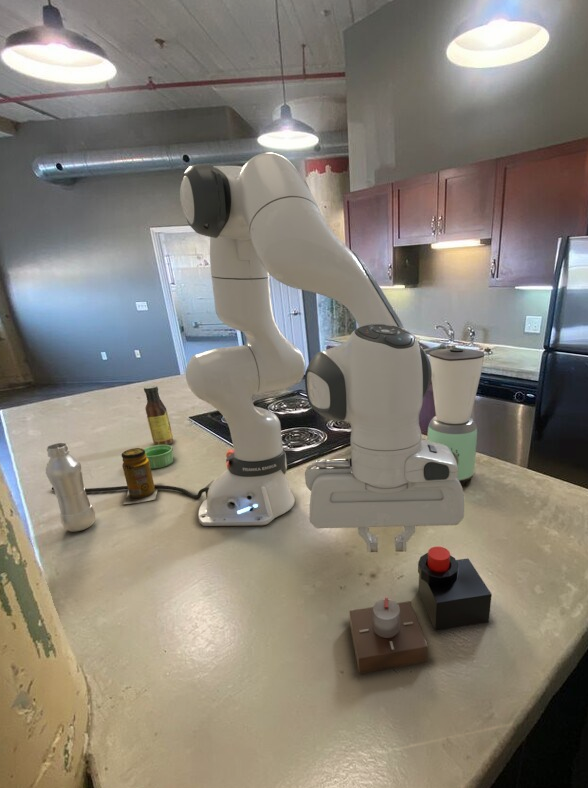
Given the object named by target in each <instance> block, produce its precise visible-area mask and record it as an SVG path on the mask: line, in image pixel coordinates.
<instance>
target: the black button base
mask: <svg viewBox="0 0 588 788" xmlns="http://www.w3.org/2000/svg"><path fill="white" fill-rule="evenodd" d="M427 564H428V552H426V553H424V554H423V555H420V557H419V560H418V563H417V573H418V593H419V596H420V598H421V601H422V604H423V606H424V607H425V610H426V612H427V614H428V617H429V620H430V623H431V624H432V626H433V629H434V631H435V632H439V631H444V630H450V629H455V628H456V629H457V628H462V627H466V626H474V625H481V624H487V623H489V622H490V615H491V614H490V613H491V606H492V605H491V604H492V592H491V591H490V589H489V588H488V587H487V584H486V583H485V582H484V580H483V579H482V577H481V576H480V574H479V573H478V571H477V570H476V568H475V567H474V565H473V563H472V562H471V560H470V558H468V557H467V558H460V559H456V558H455V557H454V556H452V555H451V554H450V564H449V569H448V570H447V571H446V572H440V573H439V572H434V571H432V570H430V569H429V568H428V565H427Z"/></svg>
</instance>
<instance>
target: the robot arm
mask: <svg viewBox="0 0 588 788" xmlns="http://www.w3.org/2000/svg"><path fill="white" fill-rule="evenodd" d="M179 189H180V190H179V200H180V201H179V202H180V205H181V209H182V212H183V214H184V216H185V219H186V221H187V224H188V225H189V227H190V228H191V229H192V230H193V231H194V232H195V233H196V234H198V235H201V236H204V237H208V238H209V263H210V264H209V265H210V266H209V267H210V277H211V285H212V286H211V287H212V294H213V301H214V311H215V314H216V316H217V318H218V319H219V321H220V322H222V323H223V324H225V325H226V326H227V327H230V328H231V329H234V330H237V331H239V332H242V333H244V334H243V335H244V336H245V339H246V340H245V341H246V344H243V345H235V346H227V347H226V346H225V347H218V348H212V349H209V350H205V351H202V352H199V353H196V354H193V355H192V356H191V357H190V359H189V361H188V363H187V365H186V368H185V379H186V383H187V386H188V388H189V389H190V391H191V393H193V395H194V396H195V397H197V398H198V399H199V400H201V401H202V402H205V403H207V404H208V405H211V406H212V407H213V408H215V409H216V410H217V411H218V412H219V413H220V414H221V415H222V416H223V418H224V420H225V421H226V423H227V426H228V428H229V433H230V437H231V440H232V441H231V442H232V447H233V448H232V449H231V448H230V449H228V450H227V452H226V455H225V457H226V460H225V462H226V463H225V464H226V468H227V469H226V470H225V471H223V472H222V473H221V474H220V475H218V476H217V477H215V478H214V479H213V480H211V481H210V482H209V483H208V484H207V485H206V486H204V487H203V488H201V489H199V491H198V493H197V494H194V493H192V492H190V491H188V490H186V489H184V488H182V487H177V486H173V485H163V484H154V486H155V488H154V489H158V490H169V491H175V492H180V493H183V494H184V495H185V496H187V497H190V498H192V499H196V500H197V499H200V498H201V497H202V495H203V493H205V499H204V500H203V501H202V503H201V504H200V506H199V509H198V516H197V517H198V522H199V524H200V525H202V526H204V527H225V526H228V527H229V526H231V527H232V526H233V527H234V526H236V527H237V526H238V527H239V526H266V525H268V524H270V523H271V522H272V521H273V520H274V519H275V518H278V517H281V516H282V515H285V514H286V513H287V512H288V511H290V510H291V509H292V508H293V507H294V505H295V502H296V500H295V499H296V498H295V497H294V495H293V492H292V489H291V487H290V484H289V479H288V474H287V470H288V463H287V454H286V450H285V448H284V446H283V435H282V427H281V421H280V419H279V417H278V416H277V414H275V413H274V412H273V411H271V410H269V409H266V408H263V407H258V406H255V405H254V400H253V398H254V397H255V396H257V395H263V394H268V393H275V392H280V391H284V390H286V389H289V388H292V387H294V386H296V385H299V384H300V383H301V382H302V381H303V379H304V388H305V394H306V399H307V402H308V405H309V406H310V407H311V408H312V409H313V411H315V412H316V413H317V414H319V415H320V416H321V417H323V418H325V419H327V420H330V421H334V422H339V423H340V422H346V423H348V424H349V425H350V428H351V431H350V436H349V437H350V439H349V440H350V441H349V442H350V458H337V459H335V458H334V459H326V458H325V459H324V458H322V459H321V458H320V459H316V460H315V462H313V463H311V464H309V465H308V466H307V467H306V469H305V471H304V481H305V486H306V488H307V489H308V490H309V491H310V498H309V523H310V524H311V525H312V526H313V527H314V528H316V529H346V528H347V529H351V528H352V529H353V528H355V529H356V528H357V530H358V531H357V533H358V535H359V536H360V537H361V539H362V540H363V542H364V543H366V553H378V551H379V550H378V549H379V547H378V545H379V544H378V534H371V532H370V528H391V527H392V528H394V527H396V528H397V527H403V529H402V531H401V533H400V534H394V548H395V549H394V550H395V551H394V552H395V553H398V552H399V553H400V552H404V553H405V552H407V543H408V541H409V540H410V539H411V538H412V536H413V535H414V534H415V533H416V527H435V526H437V527H438V526H439V527H440V526H457V525H460V523H461V522H462V521H463V520H464V518H465V497H464V496H465V495H464V490H463V486H461V484H460V481H459V479H458V477H457V475H458V465H457V462H456V459H455V457H454V455H453V454H452V452H451V451H450V449H449V448H448V447H447V446H445V445H442V444H438V443H435V442H431V441H427V439H423V438H422V437H423V435H422V430H421V427H420V414H421V410H422V407H423V404H424V403H423V400H424V398H425V396H426V394H427V393H428V391H429V388H430V386H431V384H432V379H431V377H432V369H431V364H430V357H428V354H427V353H426V351H425V349H424V348H423V347H422V345H421V344H420V343H419V341H418V338H417V337H416V335H415V334H414V333H412V332H411V331H410V330H409V329H406V327H405V326H404V323H403V322H402V321H401V319H400V317H399V316H398V314H397V313H396V310H394V308H393V306H392V305H391V303H390V301H389V299H388V298H387V296H386V294H385V293H384V291H383V289H382V288H381V286H380V284H379V283H378V281H377V280H376V279H375V277H374V275H373V273H372V272H371V271H370V269H369V267H368V266H367V264H366V263H365V262H364V260H363V259H362V258H361V257H360V256H359V255H358V254H357V253H356V252H354V251H353V250H352V249H350V248H349V247H348V246H347V245H346V244H345V243H344V242H343V241H341V239H340V238H339V237H338V235H336V234H335V232H334V231H333V230H332V228H331V227H330V226H329V224H328V223H327V221H326V220H325V218H324V216H323V215H322V212H321V210H320V208H319V205H318V204H317V201H316V200H315V197H314V196H313V194H312V192H311V190H310V187H309V185H308V183H307V182H306V180H305V179H304V178H303V176H302V175H301V174H300V172H299V171H298V170H297V168H296V167H295V165H294V164H293V163H292V162H291V161H290V160H289V159H288V158H286V157H285V156H283V155H281V154H278V153H274V152H263V153H259V154H256V155H254V156H252V157H251V158H250V159H249V160H248V161H247V162H245V164H244V165H243V166H242V165H213V164H211V163H200V164H193V165H190V166H188V167H187V169H186V170H185V171H184V172H183V174H182V176H181V184H180V188H179ZM270 276H271V277H272V278H273V279H275V280H276V281H278V282H279V283H280V284H283V285H285V286H287V287H290V288H293V289H296V290H300V291H306V292H310V293H314V294H316V295H321V296H323V297H326V298H329V299H332V300H334V301H336V302H338V303H339V304H341V305H342V306H344V307H345V308H346V309H347V310H348V311H349V312H350V313H351V315H352V317H353V319H354V320H355V322H356V324H357V325H358V326H359V327H357V328H356V329H354V330H353V331H352V332H351V334H350V336H349V338H348V340H346V341H344V342H343V343H341V344H339V345H336V346H334V347H330V348H327V349H325V350H322V351H318V352H317V353H315V354H314V356H313V357H312V358H311V359H310V361H309V363H308V365H307V366H306V360H305V357H304V355H303V352H301V350H300V348H299V347H297V346H296V345H295V344H294V343H292V342H291V341H290V340H289V339H287V338H286V336H285V335H284V334H283V333H282V331H281V330H280V328H279V326H278V324H277V321H276V318H275V317H274V316H275V315H274V311H273V304H272V295H271V285H270V284H271V282H270ZM51 490H52V491H54V489H53V487H51ZM121 490H123V491H124V490H128V487H127V485H121V486H120V485H119V486H108V487H91V488H85V492H86V493H97V492H112V491H121Z"/></svg>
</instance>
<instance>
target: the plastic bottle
mask: <svg viewBox="0 0 588 788" xmlns="http://www.w3.org/2000/svg"><path fill="white" fill-rule="evenodd" d="M46 452H47V457H48V458H49V460H48V462H47V464H46V466H45V475H46V478H47V479H48V481H49V482H50V483H49V484H50V485H51V486H52V487H53V489H54V490H53V492H54V493H55V496H56V499H57V503H58V507H59V512H60V513H59V515H60V522H61V523H60V524H61V525H62V527H63V528H64V529H65V530H67V531H69V532H80V531H84V530H86V529H88V528H90V527H91V526H93V525H94V523H95V521H96V519H97V518H96V511H95V509H94V507H93V505H92V504H91V502H90V499H89V497H88V495H87V492H85V489H86V488H85V483H84V477H83V469H82V467H83V466H82V464H81V462H80V461H79V460H78V459H77V458H76V457H75V456H73V455H71V454H70V452H71V451H70V449H69V447H68V444H67V443H66V442H57V443H53V444H50V445H48V446H47V447H46ZM52 487H51V488H52Z"/></svg>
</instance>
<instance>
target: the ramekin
mask: <svg viewBox="0 0 588 788" xmlns="http://www.w3.org/2000/svg"><path fill="white" fill-rule="evenodd" d="M173 448H174V447H173V446H172V445H171V444H169V445H151V446H148V447H145V448H143V449H144V450H145V454H146V458H148V460H149V463H150V468H151V470H152V469H160V468H165V467H168V466H169V465H171V464H172V463H173V462H174V454H173Z"/></svg>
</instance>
